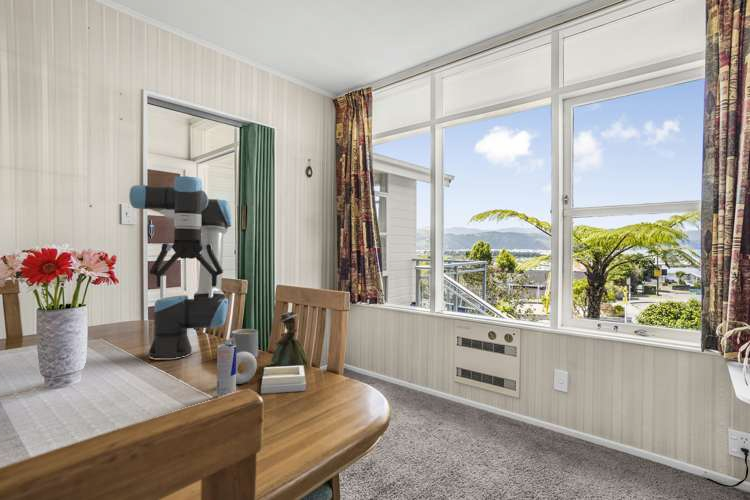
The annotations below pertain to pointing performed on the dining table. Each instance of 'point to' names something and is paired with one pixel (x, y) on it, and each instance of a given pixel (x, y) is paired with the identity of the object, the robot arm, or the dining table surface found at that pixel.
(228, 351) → the beverage can
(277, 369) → the tray
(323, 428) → the dining table surface
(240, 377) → the donut
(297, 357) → the figurine
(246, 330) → the coffee mug
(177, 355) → the robot arm
